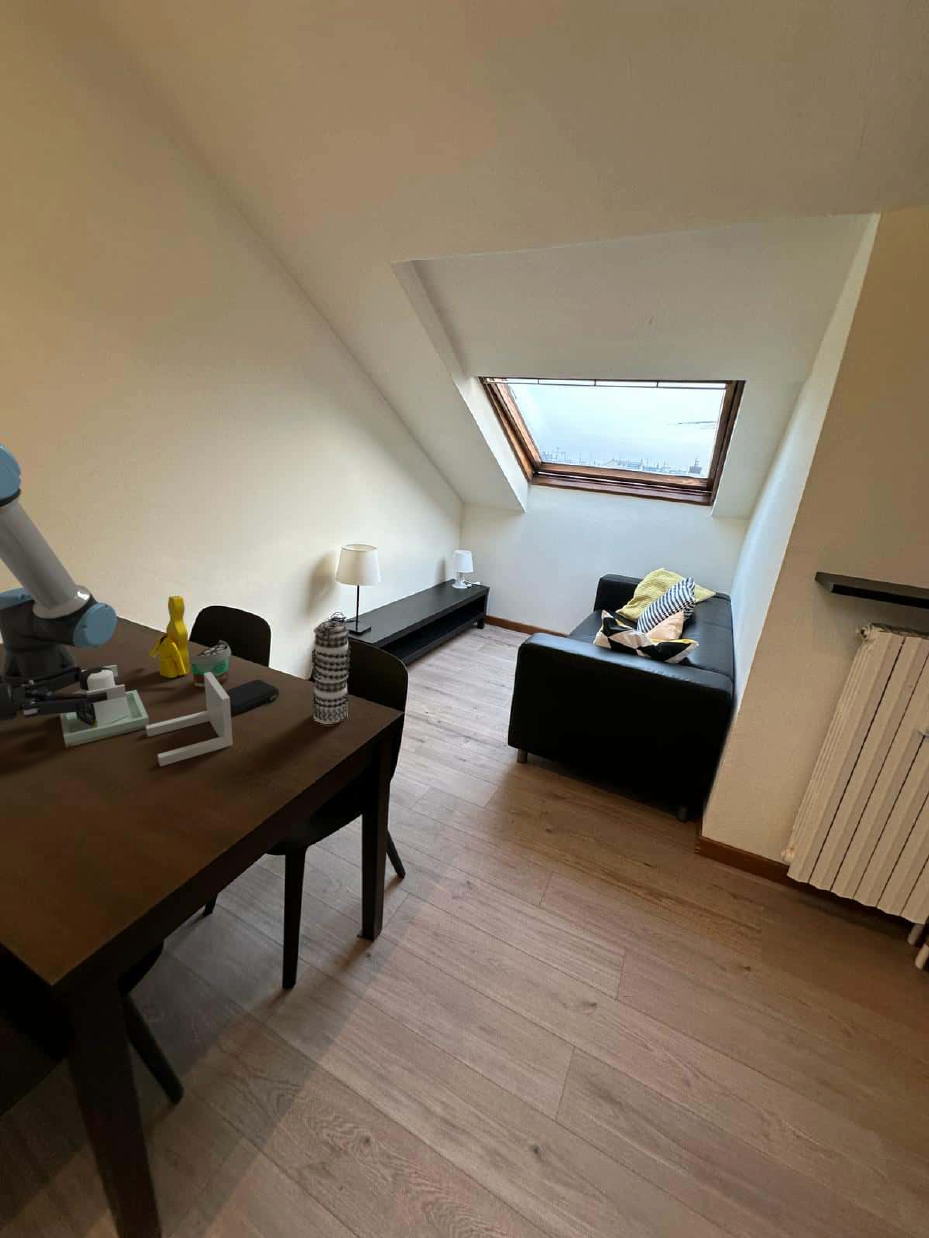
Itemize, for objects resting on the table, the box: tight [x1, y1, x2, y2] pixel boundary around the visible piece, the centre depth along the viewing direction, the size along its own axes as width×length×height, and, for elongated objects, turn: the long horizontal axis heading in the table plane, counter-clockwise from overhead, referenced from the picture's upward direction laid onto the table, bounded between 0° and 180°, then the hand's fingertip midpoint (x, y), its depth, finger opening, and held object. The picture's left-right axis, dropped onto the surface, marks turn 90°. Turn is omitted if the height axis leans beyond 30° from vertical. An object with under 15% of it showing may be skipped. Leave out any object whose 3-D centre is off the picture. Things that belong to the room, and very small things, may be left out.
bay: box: [145, 672, 234, 767], centre depth 106 cm, size 14×14×12 cm
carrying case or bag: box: [224, 679, 280, 715], centre depth 126 cm, size 11×3×15 cm
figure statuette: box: [148, 595, 191, 679], centre depth 132 cm, size 18×8×22 cm, turn 58°
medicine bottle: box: [71, 666, 129, 728], centre depth 109 cm, size 7×7×12 cm
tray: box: [59, 689, 150, 748], centre depth 111 cm, size 15×15×2 cm
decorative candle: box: [311, 620, 352, 724], centre depth 119 cm, size 9×9×25 cm
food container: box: [189, 639, 232, 690], centre depth 131 cm, size 12×6×10 cm, turn 168°
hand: (121, 679), depth 111 cm, fingers open, 11 cm apart
